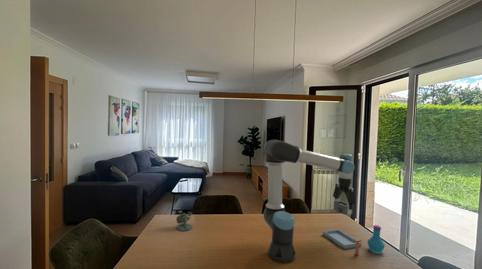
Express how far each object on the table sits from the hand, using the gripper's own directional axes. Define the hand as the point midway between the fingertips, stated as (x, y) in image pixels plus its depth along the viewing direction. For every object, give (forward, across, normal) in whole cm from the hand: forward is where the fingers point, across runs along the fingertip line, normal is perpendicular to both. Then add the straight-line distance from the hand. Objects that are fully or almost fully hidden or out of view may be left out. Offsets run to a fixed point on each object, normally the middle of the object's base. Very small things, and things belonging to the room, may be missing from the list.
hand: (342, 211), depth 158 cm
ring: (0, 0, 0) cm, 0 cm away
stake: (+19, -17, +4) cm, 26 cm away
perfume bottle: (+20, -16, -11) cm, 28 cm away
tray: (+19, 0, 0) cm, 19 cm away
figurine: (+20, +44, +96) cm, 107 cm away
